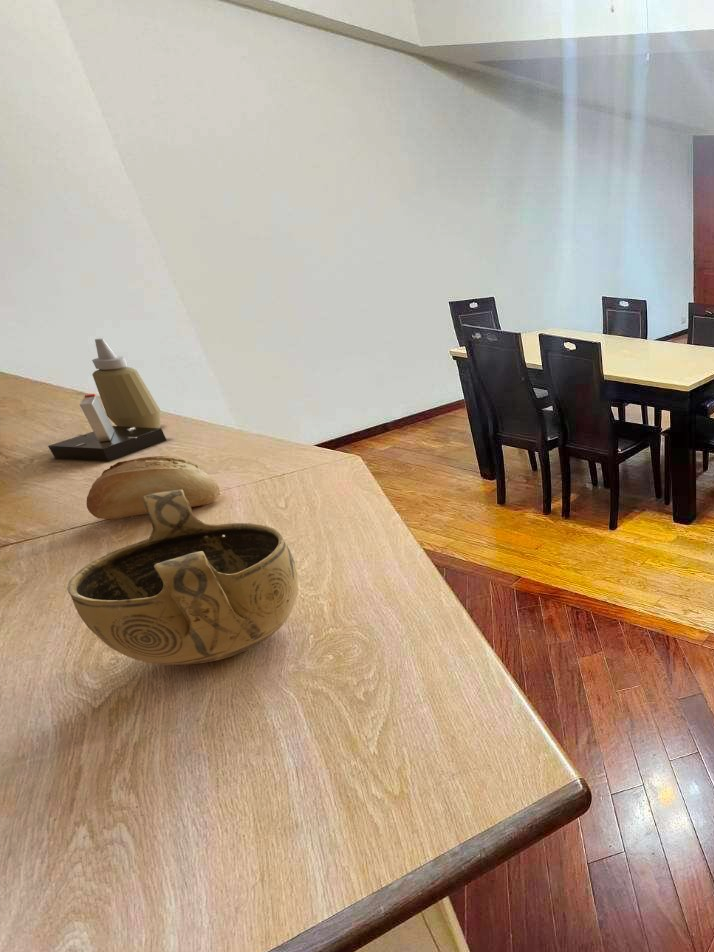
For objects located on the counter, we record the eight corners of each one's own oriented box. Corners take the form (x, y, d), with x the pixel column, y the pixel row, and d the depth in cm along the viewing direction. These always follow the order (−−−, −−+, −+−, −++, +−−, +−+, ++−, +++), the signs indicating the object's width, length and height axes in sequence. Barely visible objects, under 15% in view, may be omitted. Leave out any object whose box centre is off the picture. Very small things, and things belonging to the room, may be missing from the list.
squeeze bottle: (158, 421, 127) (118, 334, 118) (174, 428, 123) (134, 339, 114) (108, 430, 121) (62, 339, 112) (124, 438, 117) (78, 344, 108)
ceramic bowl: (340, 659, 63) (293, 536, 56) (124, 740, 53) (31, 602, 45) (294, 576, 77) (252, 468, 69) (116, 626, 66) (44, 506, 59)
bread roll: (97, 511, 90) (69, 462, 86) (220, 488, 99) (200, 442, 95) (95, 534, 84) (65, 482, 80) (226, 507, 93) (206, 460, 89)
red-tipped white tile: (110, 440, 109) (91, 402, 105) (98, 442, 108) (78, 403, 105) (114, 430, 114) (95, 393, 110) (103, 432, 113) (84, 394, 109)
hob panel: (112, 461, 107) (105, 447, 106) (51, 458, 107) (43, 444, 106) (169, 440, 117) (164, 427, 116) (114, 437, 117) (108, 424, 116)
